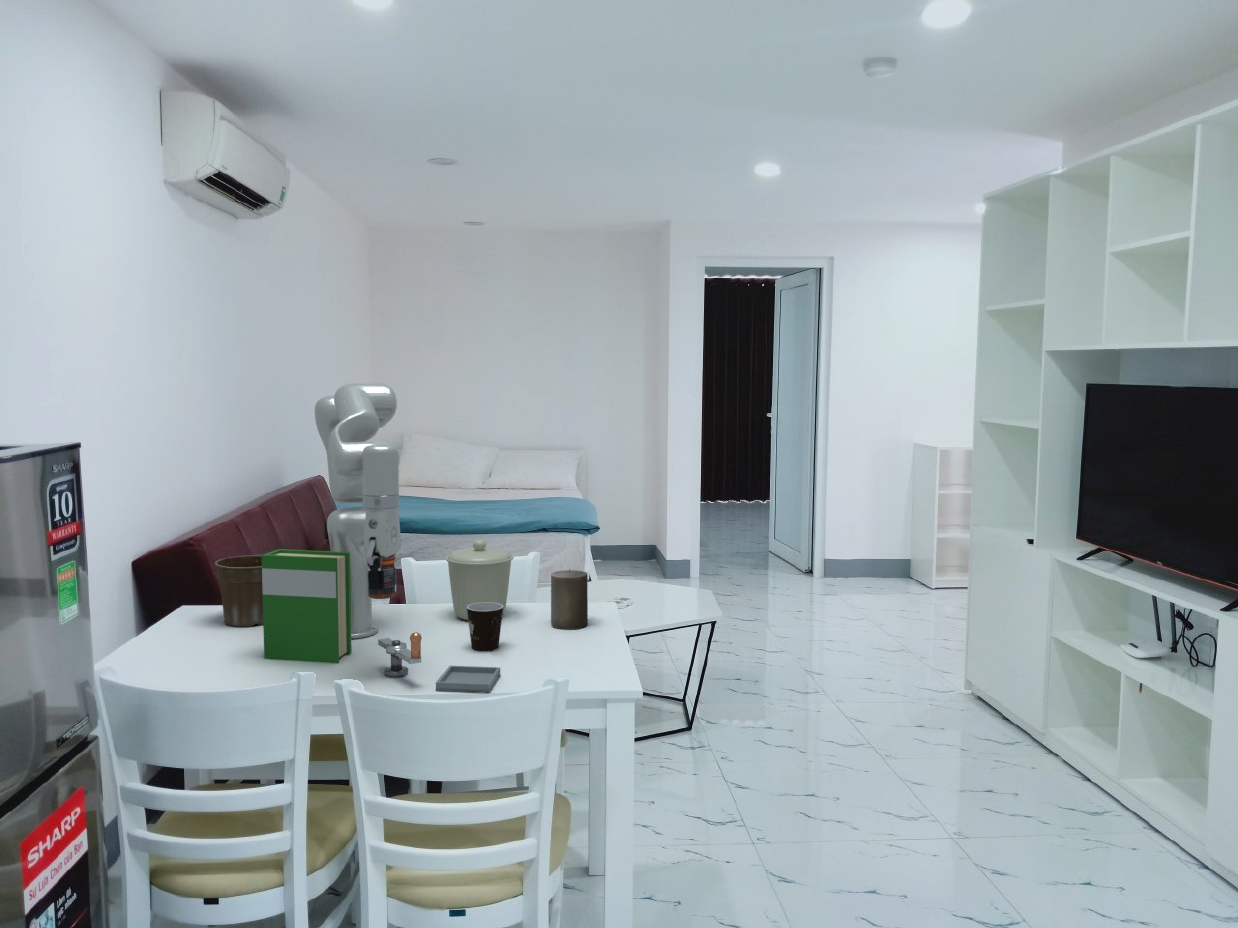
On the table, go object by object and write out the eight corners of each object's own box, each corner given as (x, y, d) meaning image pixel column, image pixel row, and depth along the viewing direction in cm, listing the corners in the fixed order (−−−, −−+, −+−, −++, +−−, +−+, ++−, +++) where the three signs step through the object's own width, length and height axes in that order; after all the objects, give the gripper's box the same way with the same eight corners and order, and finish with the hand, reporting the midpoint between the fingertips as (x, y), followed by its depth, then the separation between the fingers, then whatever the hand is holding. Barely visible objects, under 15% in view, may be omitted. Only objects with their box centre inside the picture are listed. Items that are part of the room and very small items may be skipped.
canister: (515, 608, 260) (516, 533, 258) (510, 625, 242) (510, 546, 240) (450, 608, 259) (450, 533, 257) (440, 625, 241) (440, 545, 239)
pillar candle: (593, 627, 241) (594, 570, 240) (558, 631, 237) (559, 573, 236) (578, 618, 250) (579, 563, 249) (544, 622, 246) (545, 566, 245)
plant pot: (291, 613, 252) (290, 554, 250) (271, 629, 235) (269, 567, 234) (231, 613, 251) (229, 554, 249) (206, 629, 235) (204, 566, 233)
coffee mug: (468, 642, 227) (468, 602, 226) (503, 642, 227) (503, 601, 226) (464, 657, 215) (464, 614, 214) (501, 656, 216) (501, 614, 215)
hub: (381, 677, 200) (381, 656, 200) (389, 669, 205) (388, 649, 205) (404, 678, 200) (403, 657, 199) (411, 670, 205) (411, 650, 204)
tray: (435, 690, 192) (435, 682, 192) (449, 673, 203) (449, 665, 203) (489, 692, 191) (489, 684, 191) (500, 675, 202) (500, 667, 202)
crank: (373, 645, 206) (373, 616, 206) (392, 642, 209) (392, 613, 208) (408, 666, 192) (408, 635, 191) (428, 662, 195) (428, 632, 194)
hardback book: (351, 653, 217) (349, 552, 214) (337, 663, 209) (335, 558, 207) (280, 649, 219) (278, 549, 217) (264, 658, 212) (261, 555, 210)
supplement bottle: (401, 594, 202) (401, 543, 201) (385, 600, 197) (385, 548, 196) (378, 592, 204) (377, 541, 203) (362, 598, 199) (361, 546, 198)
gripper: (383, 508, 190) (384, 595, 191) (411, 497, 207) (412, 577, 208) (348, 507, 191) (349, 594, 192) (378, 497, 208) (379, 576, 209)
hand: (382, 584), depth 200 cm, fingers closed on supplement bottle, 6 cm apart
